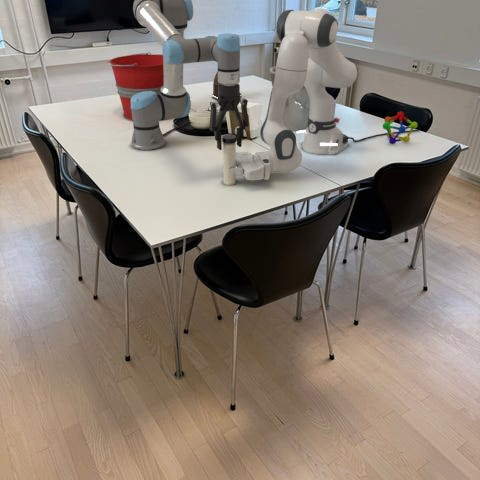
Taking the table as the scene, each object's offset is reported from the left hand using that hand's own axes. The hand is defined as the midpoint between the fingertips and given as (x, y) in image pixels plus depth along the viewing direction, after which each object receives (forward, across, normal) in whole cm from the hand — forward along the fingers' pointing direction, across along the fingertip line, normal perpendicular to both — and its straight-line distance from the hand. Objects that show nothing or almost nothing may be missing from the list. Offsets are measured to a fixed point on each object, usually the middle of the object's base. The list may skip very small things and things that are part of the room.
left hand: (229, 147), depth 164 cm
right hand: (+8, -1, 0) cm, 8 cm away
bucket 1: (+14, -7, +102) cm, 103 cm away
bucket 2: (+14, +60, +52) cm, 81 cm away
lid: (-4, 0, 0) cm, 4 cm away
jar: (+14, 0, 0) cm, 14 cm away
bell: (+14, +49, +120) cm, 130 cm away
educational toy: (+14, +90, +9) cm, 92 cm away
